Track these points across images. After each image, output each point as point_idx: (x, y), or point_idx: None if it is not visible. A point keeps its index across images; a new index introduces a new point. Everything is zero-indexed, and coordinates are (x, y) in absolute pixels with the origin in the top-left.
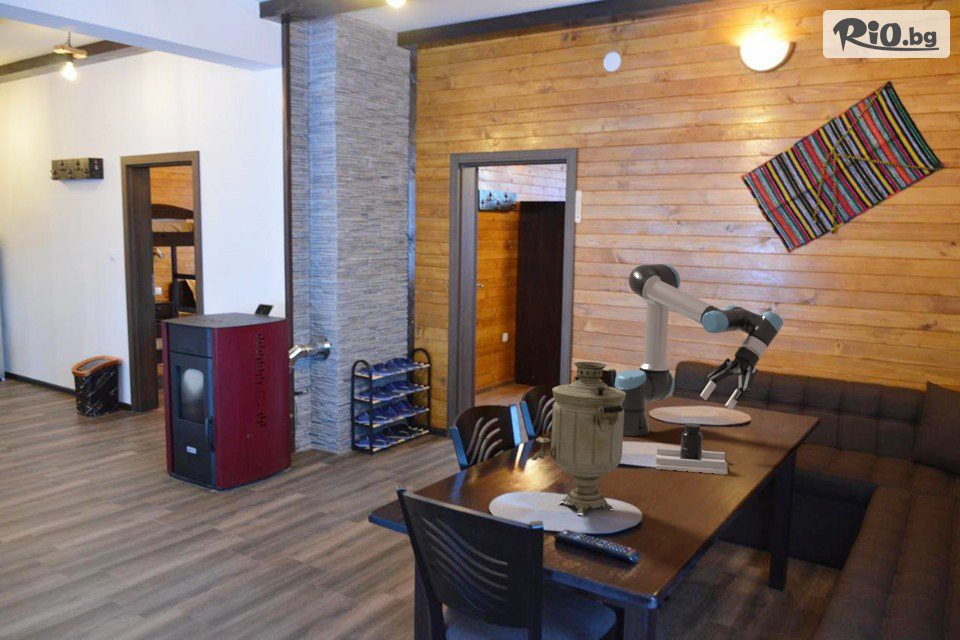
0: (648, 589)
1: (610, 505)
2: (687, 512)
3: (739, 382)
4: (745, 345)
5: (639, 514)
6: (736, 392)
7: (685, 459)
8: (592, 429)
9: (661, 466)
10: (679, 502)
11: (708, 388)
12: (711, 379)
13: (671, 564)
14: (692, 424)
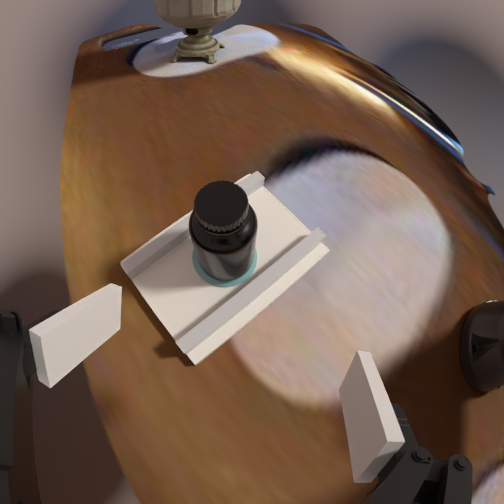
0: (84, 43)
1: (173, 57)
2: (102, 102)
3: (6, 381)
4: None
5: (142, 71)
6: (44, 327)
7: None
8: None
9: (240, 179)
10: (123, 111)
11: (365, 405)
12: (405, 453)
13: (81, 57)
14: (227, 206)
